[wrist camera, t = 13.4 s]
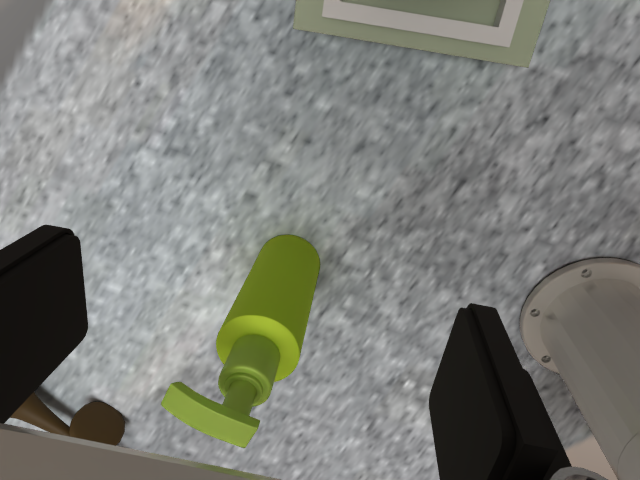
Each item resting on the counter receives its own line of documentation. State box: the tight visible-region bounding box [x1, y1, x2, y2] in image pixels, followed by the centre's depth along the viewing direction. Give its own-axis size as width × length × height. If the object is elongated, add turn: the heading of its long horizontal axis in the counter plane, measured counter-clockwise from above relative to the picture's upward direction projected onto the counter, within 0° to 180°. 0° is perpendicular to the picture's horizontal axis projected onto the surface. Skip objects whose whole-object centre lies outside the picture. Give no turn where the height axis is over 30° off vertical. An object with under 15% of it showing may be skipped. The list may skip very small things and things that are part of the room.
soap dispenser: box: [161, 235, 320, 448], centre depth 34 cm, size 6×7×20 cm
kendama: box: [10, 392, 125, 446], centre depth 52 cm, size 6×10×20 cm
